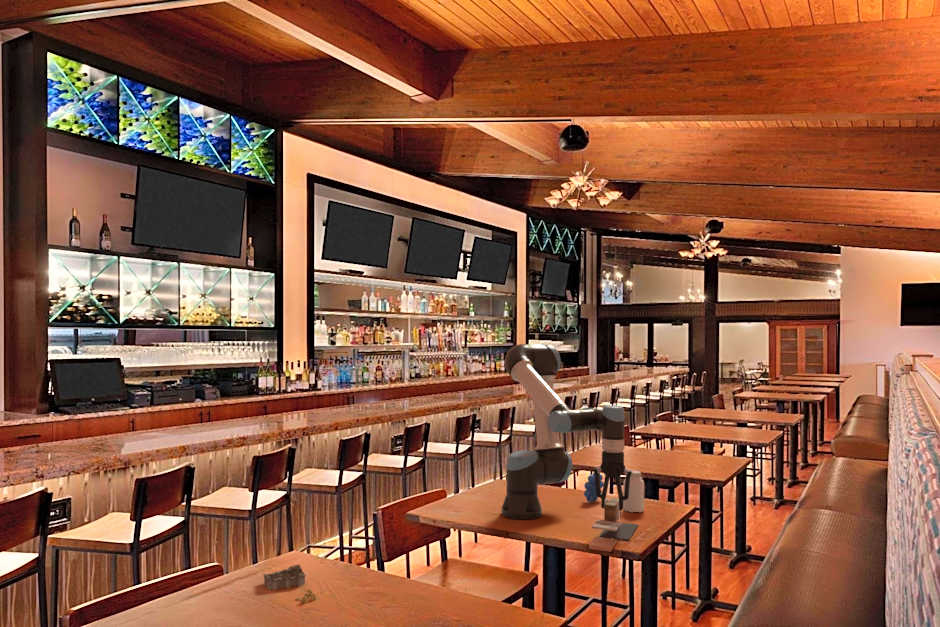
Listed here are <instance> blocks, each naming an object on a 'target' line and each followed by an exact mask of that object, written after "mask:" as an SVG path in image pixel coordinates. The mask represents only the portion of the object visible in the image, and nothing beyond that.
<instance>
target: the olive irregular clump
mask: <svg viewBox="0 0 940 627" xmlns="http://www.w3.org/2000/svg"><path fill="white" fill-rule="evenodd" d="M303 594H304V596H302V597H296V598H295V601H300V602H301V604H304V605H306V604H308V599H309V600H310V601H316V599H317V595H316V593H313V589H307V590H306V592H304V593H303Z"/></svg>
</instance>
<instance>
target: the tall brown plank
mask: <svg viewBox="0 0 940 627" xmlns="http://www.w3.org/2000/svg"><path fill="white" fill-rule="evenodd" d="M618 499H619V497H610V498H609V499H608V502H607V503H606V504H605V519H604V518H603V519H597V520H596V521H595V523H594V524H593V525H591V529H594V530H602V531H603V530H611V531H617V530H618V528H619V527H620V526H621V524H622V523H623V522H622V521H618V520H617V500H618ZM621 516H622V510H620V517H621Z"/></svg>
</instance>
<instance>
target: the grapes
mask: <svg viewBox="0 0 940 627" xmlns="http://www.w3.org/2000/svg"><path fill="white" fill-rule="evenodd" d="M600 485H601V489H603V486H604V481H603V475H602V474H601V473H600ZM584 489H585V491H584V492H583V495H584V497H585V498H586V501H587V503H591V502H593V501H595V502H596V501H597V500H598V498H599V497H597V496H596V482H595V474H594V472H593V473H592V474H590V475H589V476H587V481H586V482H585V483H584ZM602 491H603V490H601V494H602Z"/></svg>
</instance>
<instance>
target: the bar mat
mask: <svg viewBox="0 0 940 627" xmlns="http://www.w3.org/2000/svg"><path fill="white" fill-rule="evenodd" d="M638 527H639V524H638V523H629V522H628V523H627V522H622V524H621V526H620V527H619V528H618V530H617V531H611V530H602V531H601V533H600V534H599V536H598V537H603V538H613V539H622V540H621V541H623V540H629V541H630V540H631V539H630V538H632V537H633V536H634V534H635V532H636V530H637V529H638ZM636 528H637V529H636ZM633 533H634V534H633ZM631 536H632V537H631Z"/></svg>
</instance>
